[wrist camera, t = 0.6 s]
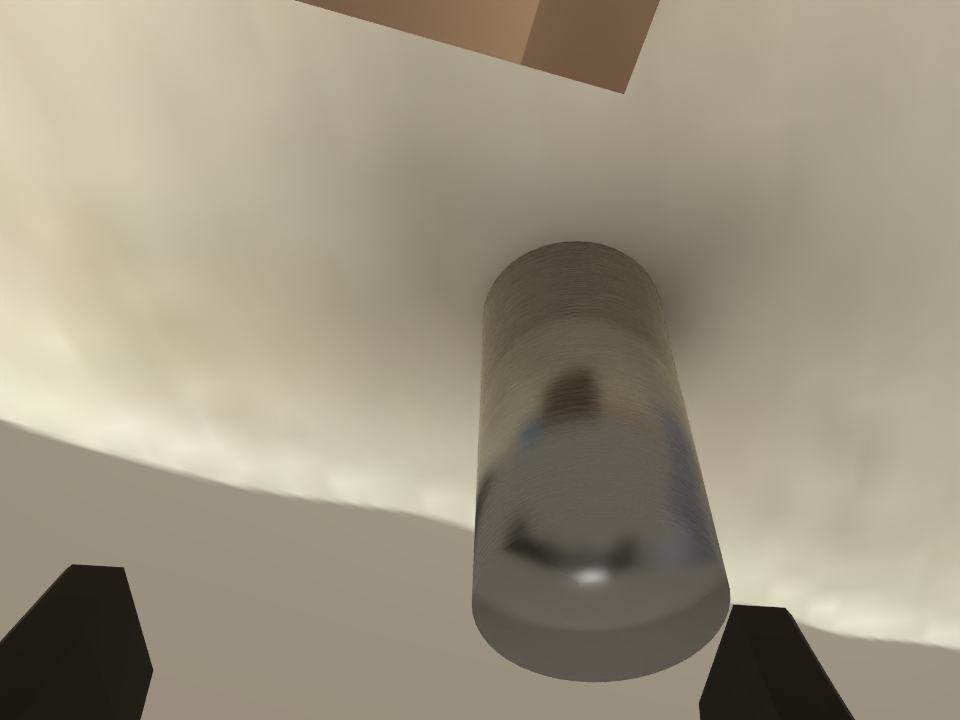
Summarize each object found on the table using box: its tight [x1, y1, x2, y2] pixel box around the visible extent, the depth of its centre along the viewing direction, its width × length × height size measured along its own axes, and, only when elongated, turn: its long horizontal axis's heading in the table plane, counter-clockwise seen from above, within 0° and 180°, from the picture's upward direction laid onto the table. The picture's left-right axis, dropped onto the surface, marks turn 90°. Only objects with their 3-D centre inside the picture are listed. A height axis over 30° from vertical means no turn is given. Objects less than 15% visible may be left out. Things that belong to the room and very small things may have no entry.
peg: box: [472, 242, 730, 682], centre depth 17 cm, size 4×4×8 cm
